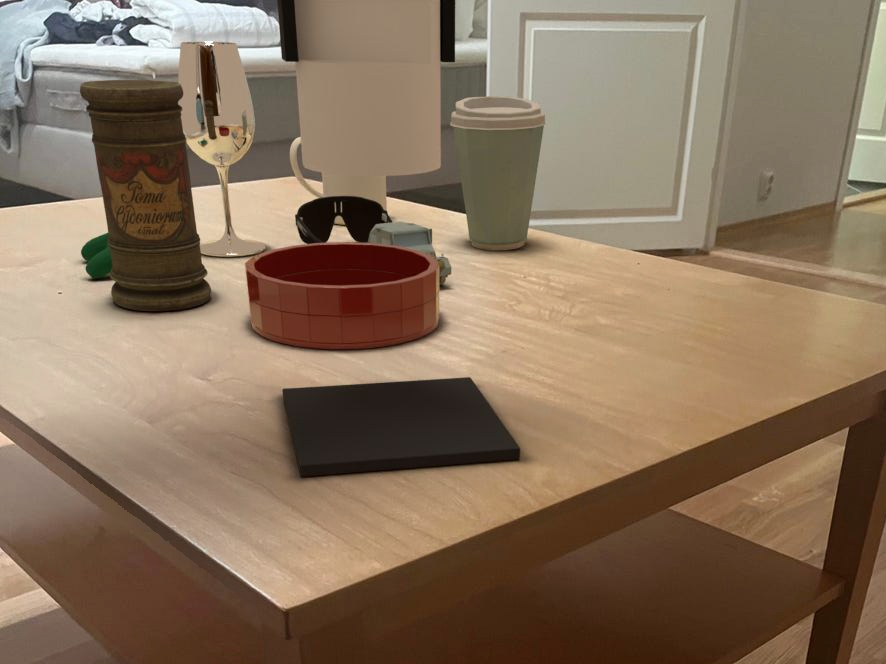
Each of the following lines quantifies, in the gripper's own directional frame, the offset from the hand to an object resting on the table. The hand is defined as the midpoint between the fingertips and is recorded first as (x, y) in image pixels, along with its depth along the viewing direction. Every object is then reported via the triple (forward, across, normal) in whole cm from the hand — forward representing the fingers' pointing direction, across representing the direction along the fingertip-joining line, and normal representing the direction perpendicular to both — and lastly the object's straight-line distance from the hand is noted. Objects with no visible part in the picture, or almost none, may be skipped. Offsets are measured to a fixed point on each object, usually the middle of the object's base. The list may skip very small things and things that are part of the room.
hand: (368, 60), depth 62 cm
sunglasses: (+22, +5, +45) cm, 51 cm away
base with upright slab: (+6, 0, 0) cm, 6 cm away
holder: (+21, 0, -6) cm, 22 cm away
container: (+22, -16, +30) cm, 40 cm away
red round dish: (+21, 0, +20) cm, 29 cm away
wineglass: (+22, -8, +50) cm, 55 cm away
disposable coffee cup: (+22, +22, +47) cm, 56 cm away
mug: (+22, +6, +63) cm, 67 cm away
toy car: (+22, +10, +33) cm, 41 cm away
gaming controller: (+22, -20, +43) cm, 52 cm away
